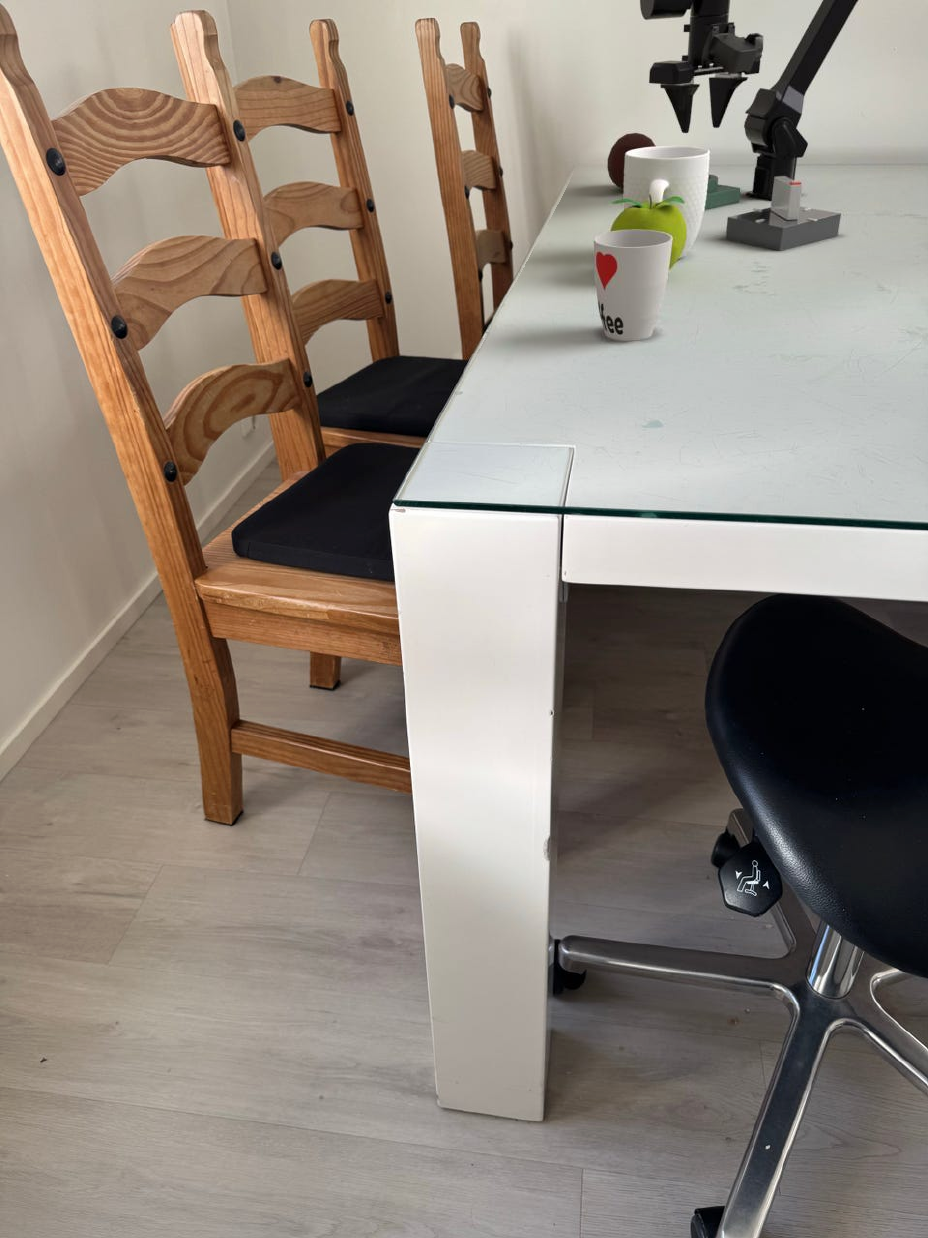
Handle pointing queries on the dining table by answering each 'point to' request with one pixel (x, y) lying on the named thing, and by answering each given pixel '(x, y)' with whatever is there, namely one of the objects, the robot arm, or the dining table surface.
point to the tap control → (720, 194)
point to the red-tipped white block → (786, 197)
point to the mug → (669, 181)
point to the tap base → (782, 228)
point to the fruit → (655, 221)
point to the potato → (618, 155)
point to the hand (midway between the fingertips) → (700, 130)
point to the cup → (631, 281)
